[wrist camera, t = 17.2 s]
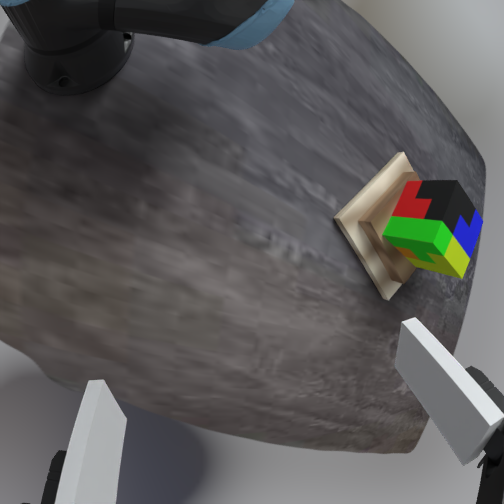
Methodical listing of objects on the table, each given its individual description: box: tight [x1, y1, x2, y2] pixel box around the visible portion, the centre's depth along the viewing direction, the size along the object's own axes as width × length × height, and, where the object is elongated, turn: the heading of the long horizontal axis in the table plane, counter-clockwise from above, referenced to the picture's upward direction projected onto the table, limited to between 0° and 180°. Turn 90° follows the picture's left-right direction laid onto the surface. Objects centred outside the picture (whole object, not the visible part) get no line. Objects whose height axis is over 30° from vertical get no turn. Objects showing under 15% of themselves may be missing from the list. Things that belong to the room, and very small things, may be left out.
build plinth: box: [334, 152, 420, 300], centre depth 49 cm, size 18×18×4 cm
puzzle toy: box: [382, 180, 483, 279], centre depth 42 cm, size 10×10×10 cm
